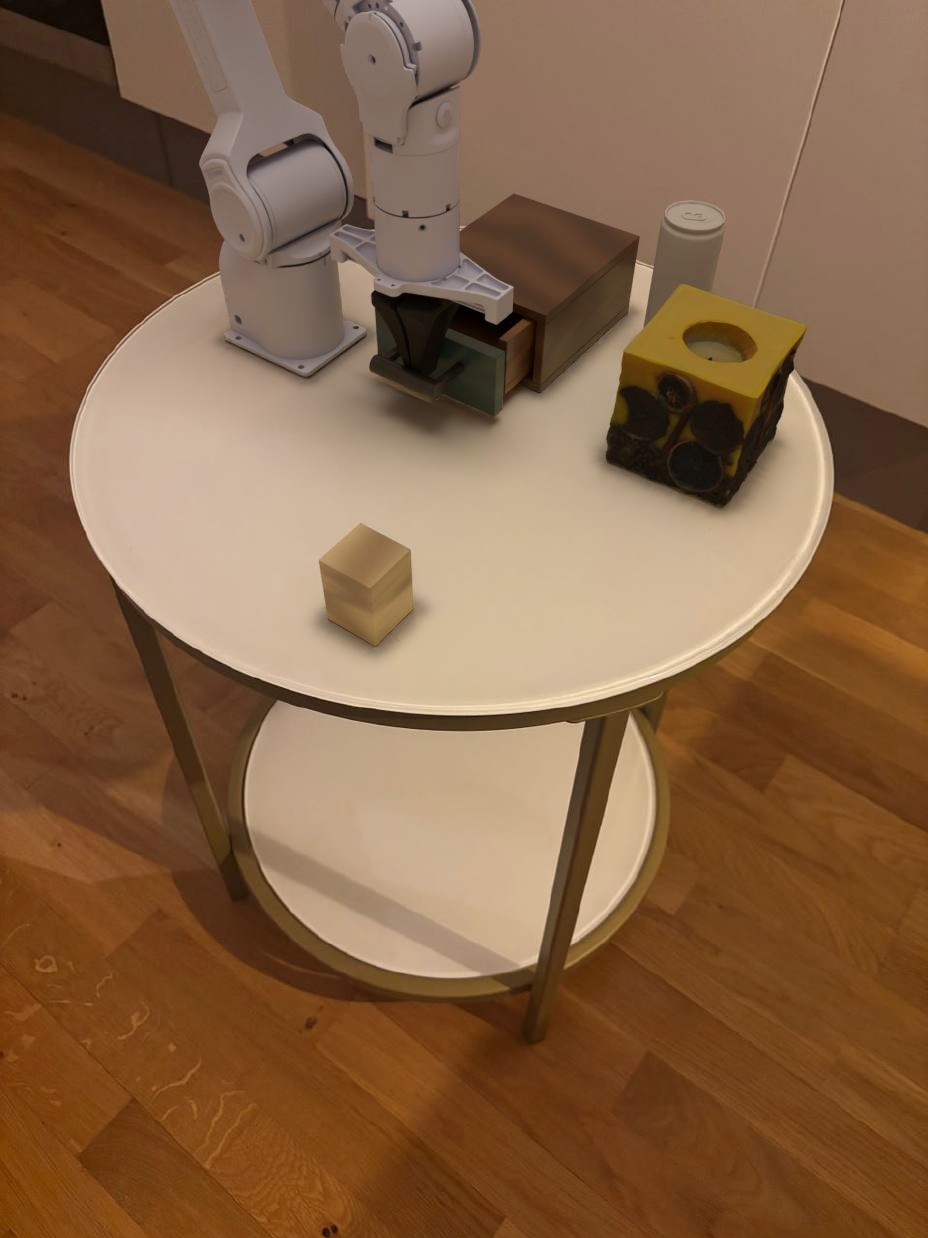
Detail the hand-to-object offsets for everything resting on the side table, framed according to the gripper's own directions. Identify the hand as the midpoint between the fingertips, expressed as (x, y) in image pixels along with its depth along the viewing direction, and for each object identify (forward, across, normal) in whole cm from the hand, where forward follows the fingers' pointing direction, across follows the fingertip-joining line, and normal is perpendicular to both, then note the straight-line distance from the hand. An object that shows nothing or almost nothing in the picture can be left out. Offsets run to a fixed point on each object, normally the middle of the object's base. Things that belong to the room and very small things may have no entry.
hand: (422, 372), depth 74 cm
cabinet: (+4, 0, +15) cm, 15 cm away
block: (+4, +10, -19) cm, 22 cm away
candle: (+4, +19, +8) cm, 21 cm away
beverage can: (+4, +12, +19) cm, 22 cm away
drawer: (+3, 0, +6) cm, 7 cm away
